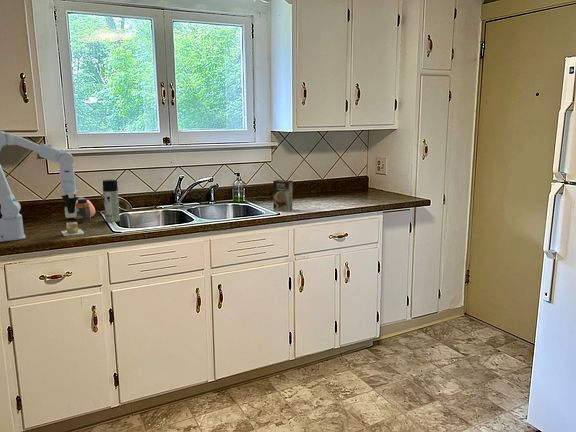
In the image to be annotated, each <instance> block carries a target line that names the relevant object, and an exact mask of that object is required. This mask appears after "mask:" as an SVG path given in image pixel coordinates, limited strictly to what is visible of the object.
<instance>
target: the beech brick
mask: <svg viewBox="0 0 576 432" xmlns="http://www.w3.org/2000/svg"><path fill="white" fill-rule="evenodd" d="M65 226H66V231H67V233H68V234H71V233H78V229H79V227H78V226H79V225H78V221H74V222H66V225H65Z"/></svg>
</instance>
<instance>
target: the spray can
mask: <svg viewBox="0 0 576 432" xmlns="http://www.w3.org/2000/svg"><path fill="white" fill-rule="evenodd" d="M102 193H103V207H104V210H103V211H104V220H105V222H107V223H108V222H109V223H118V222H120V220H121V219H120V203H119V200H120V199H119V188H118V180H117V179H105V180H104V179H103V180H102Z"/></svg>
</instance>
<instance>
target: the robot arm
mask: <svg viewBox="0 0 576 432" xmlns="http://www.w3.org/2000/svg"><path fill="white" fill-rule="evenodd" d="M5 146H19V147H21V148H23V149H24V148H26V149H28V150H30V151H32V152H36V153H38V156H39V157H40V158H43V159H45V160H48V161H50V162H53V163H58V164H59V178H60V179H59V180H60V193H61V199H62V200H63V202H64V205H65V207H67V209H68V212H69V214H70V213H74V212H75V204H76V201H77V200H78V198H79V197H78V196H76V194H77V193H80V190H79V189H77V185H76V176H75V175H76V174H75V169H74V167H75V166H74V161H75V160H74V156H73V155H72V154H71V153H70V152H68V151H64V149H63V148H61V149H59V148H57V147H55V146H52V144H51V143H48V144H47V143H44V144H38V143H36V142H34V141H32V140H30V139H27V138H24V137H22V136H20V135H18V134H14V133H11V132H6V131H4V130H0V151H1V150H2V149H3V148H4V147H5ZM21 206H22V205H21V203H20V202H19V201H18V200H17V199H16V197H15V195H14V194H13V192H12V189H11V187H10V185H9V183H8V180H7V177H6V175H5V172H4V170H3V167H2V165H1V164H0V214H1V215H2V216H1V218H0V242H9V241H17V240H21V239H22V240H23V239H26V237H27V236H26V234H25V230H24V222H23V214H20V211H21V209H22V207H21Z"/></svg>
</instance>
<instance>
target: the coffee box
mask: <svg viewBox="0 0 576 432" xmlns="http://www.w3.org/2000/svg"><path fill="white" fill-rule="evenodd" d="M293 182H294V181H293V180H284V179H277V180H273V183H272V184H273V185H272V186H273V188H272V189H273V191H272V192H273V194H272V195H273V196H272V197H273V199H272V200H273V207H272V208H273V209H272V210H273V211H274V210H277V211H279V212H287V211H289V212H291V211H293V187H294V186H293ZM290 210H291V211H290Z"/></svg>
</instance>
